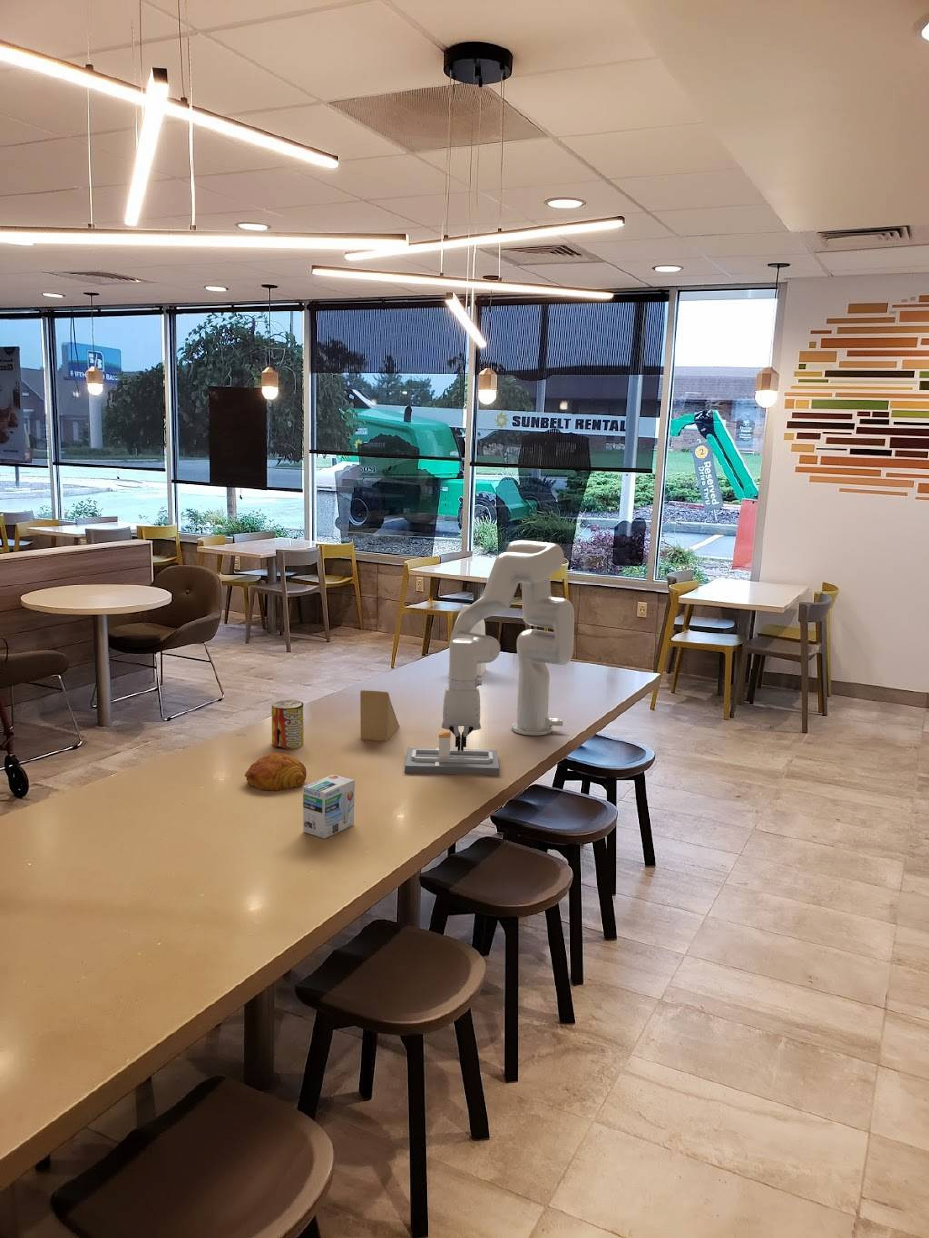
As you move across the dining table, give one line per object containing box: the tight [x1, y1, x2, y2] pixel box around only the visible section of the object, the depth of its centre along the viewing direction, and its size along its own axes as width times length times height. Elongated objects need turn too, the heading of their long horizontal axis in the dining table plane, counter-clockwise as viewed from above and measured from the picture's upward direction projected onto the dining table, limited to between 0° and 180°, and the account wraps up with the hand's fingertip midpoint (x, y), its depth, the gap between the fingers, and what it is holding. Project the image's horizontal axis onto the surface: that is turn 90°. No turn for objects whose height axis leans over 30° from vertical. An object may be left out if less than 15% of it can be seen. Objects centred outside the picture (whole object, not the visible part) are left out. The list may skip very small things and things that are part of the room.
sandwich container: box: [359, 689, 400, 742], centre depth 281 cm, size 9×15×15 cm, turn 169°
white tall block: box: [454, 604, 487, 677], centre depth 360 cm, size 12×12×26 cm
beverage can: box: [271, 699, 305, 750], centre depth 267 cm, size 9×9×12 cm
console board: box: [404, 747, 500, 776], centre depth 255 cm, size 25×15×3 cm, turn 90°
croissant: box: [243, 751, 307, 792], centre depth 238 cm, size 14×16×8 cm
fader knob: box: [438, 728, 452, 758], centre depth 254 cm, size 3×5×7 cm, turn 0°
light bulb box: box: [302, 774, 356, 840], centre depth 210 cm, size 11×7×11 cm, turn 148°
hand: (460, 749), depth 254 cm, fingers closed
